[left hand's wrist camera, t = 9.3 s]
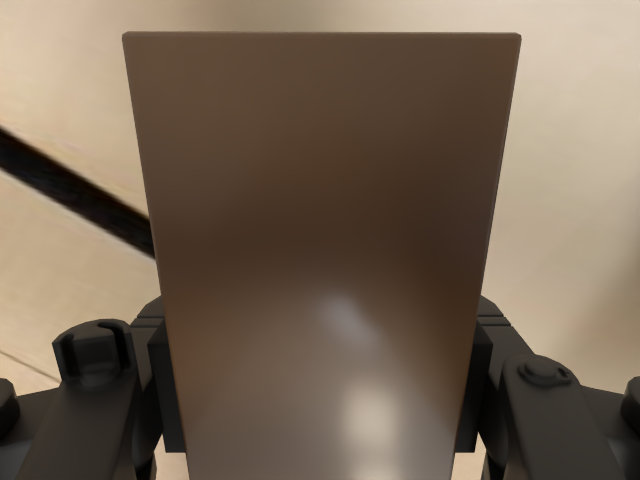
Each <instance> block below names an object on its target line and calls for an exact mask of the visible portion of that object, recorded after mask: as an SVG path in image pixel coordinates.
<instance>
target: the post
mask: <svg viewBox="0 0 640 480" xmlns="http://www.w3.org/2000/svg"><path fill="white" fill-rule="evenodd" d="M521 40H522V39H521V35H520V34H518V33H490V32H126V33H124V34H123V35H122V42H123V49H124V55H125V62H126V68H127V75H128V81H129V88H130V94H131V101H132V107H133V114H134V120H135V127H136V133H137V140H138V147H139V153H140V160H141V166H142V173H143V179H144V186H145V192H146V199H147V205H148V212H149V218H150V225H151V231H152V238H153V244H154V251H155V257H156V264H157V270H158V277H159V283H160V290H161V296H162V303H163V309H164V316H165V322H166V329H167V335H168V342H169V348H170V355H171V361H172V368H173V374H174V381H175V387H176V394H177V400H178V407H179V414H180V420H181V427H182V433H183V440H184V446H185V453H186V459H187V466H188V472H189V479H190V480H451V476H452V470H453V463H454V457H455V451H456V445H457V439H458V432H459V426H460V420H461V414H462V407H463V401H464V395H465V389H466V383H467V376H468V370H469V364H470V358H471V351H472V345H473V339H474V333H475V326H476V320H477V314H478V308H479V302H480V295H481V289H482V283H483V277H484V270H485V264H486V258H487V252H488V245H489V239H490V233H491V227H492V221H493V214H494V208H495V202H496V196H497V189H498V183H499V177H500V171H501V165H502V158H503V152H504V146H505V140H506V133H507V127H508V121H509V115H510V108H511V102H512V96H513V90H514V84H515V77H516V71H517V65H518V59H519V52H520V46H521Z"/></svg>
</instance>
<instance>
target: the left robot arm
mask: <svg viewBox="0 0 640 480" xmlns="http://www.w3.org/2000/svg"><path fill="white" fill-rule="evenodd" d="M52 346H53V349H54V353H55V357H56V360H57V364H58V368H59V372H60V375H61V379H62V381H61V383H60V386H59V387H58V388H54V389H50V390H45V391H40V392H36V393H31V394H26V395H21V396H16V393H15V390H14V386H13V384H12V383H11V382H10V381H8V380H7V379H3V378H0V480H156V472H157V467H156V460H155V454H154V450H155V448H156V446H157V444H158V441H159V439H160V437H161V435H162V434H163V439H164V445H165V451H166V453H185V446H184V440H183V433H182V427H181V420H180V414H179V407H178V400H177V394H176V387H175V381H174V374H173V368H172V361H171V355H170V348H169V342H168V335H167V329H166V322H165V316H164V309H163V303H162V296H159V297H158V298H156V299H155V300H153V301H151V302H150V303H148V304H147V305H145V307H144V308H143V309H142V310H141V312H140V313H139V314H138V316H137V318H135V319H134V321H133V322H132V323H131V324H130V325H129V324H127V323H126V322H125V321H122V320H117V319H99V320H94V321H89V322H85V323H82V324H80V325H77V326H74V327H72V328H70V329H68V330H67V331H65V332H63V333H62V334H60V335H59V336H58V337H57V338H56V339H55V340H54V341H53V342H52ZM478 432H479V434H480V436H481V439H482V441H483V443H484V445H485V447H486V454H485V460H484V465H483V470H482V475H481V480H640V376H639V377H634V378H633V379H632V380H630V381H629V382H628V385H627V388H626V391H625V394H624V395H623V394H619V393H614V392H609V391H604V390H599V389H594V388H590V387H586V386H582V385H580V383H579V381H578V379H577V378H576V377H575V375H574V374H573V373H572V371H570V370H569V369H568V368H566V367H565V366H563V365H562V364H561V363H559V362H556V361H554V360H552V359H550V358H547V357H544V356H540V355H536V354H534V352H533V351H532V350H531V349H530V347H529V346H528V345H527V344H526V342H525V341H524V340H523V339H522V337H521V336H520V335H519V334H518V332H517V331H516V330H515V329H514V327H513V326H511V324H510V322H509V321H508V320H507V319H506V317H504V315H503V313H502V312H501V311H500V310H499V308H498V307H497V306H496V305H495V304H494V303H493V302H491V301H490V300H488V299H486V298H485V297H483V296H482V295H480V302H479V308H478V314H477V320H476V326H475V333H474V339H473V345H472V351H471V358H470V364H469V370H468V376H467V383H466V389H465V395H464V401H463V407H462V414H461V420H460V426H459V432H458V439H457V445H456V451H455V453H474V452H475V447H476V441H477V435H478Z"/></svg>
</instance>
